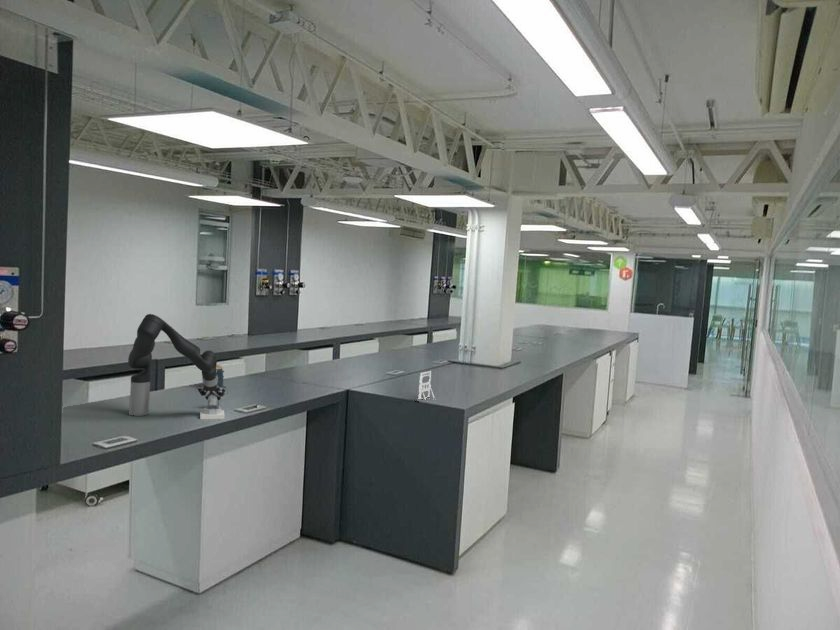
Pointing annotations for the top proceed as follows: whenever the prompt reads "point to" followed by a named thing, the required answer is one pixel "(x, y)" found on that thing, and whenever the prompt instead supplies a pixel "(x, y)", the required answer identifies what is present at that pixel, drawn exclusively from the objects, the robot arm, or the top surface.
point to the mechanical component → (222, 397)
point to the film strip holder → (424, 385)
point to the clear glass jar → (212, 400)
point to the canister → (219, 375)
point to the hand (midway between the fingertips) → (213, 398)
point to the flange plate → (212, 413)
